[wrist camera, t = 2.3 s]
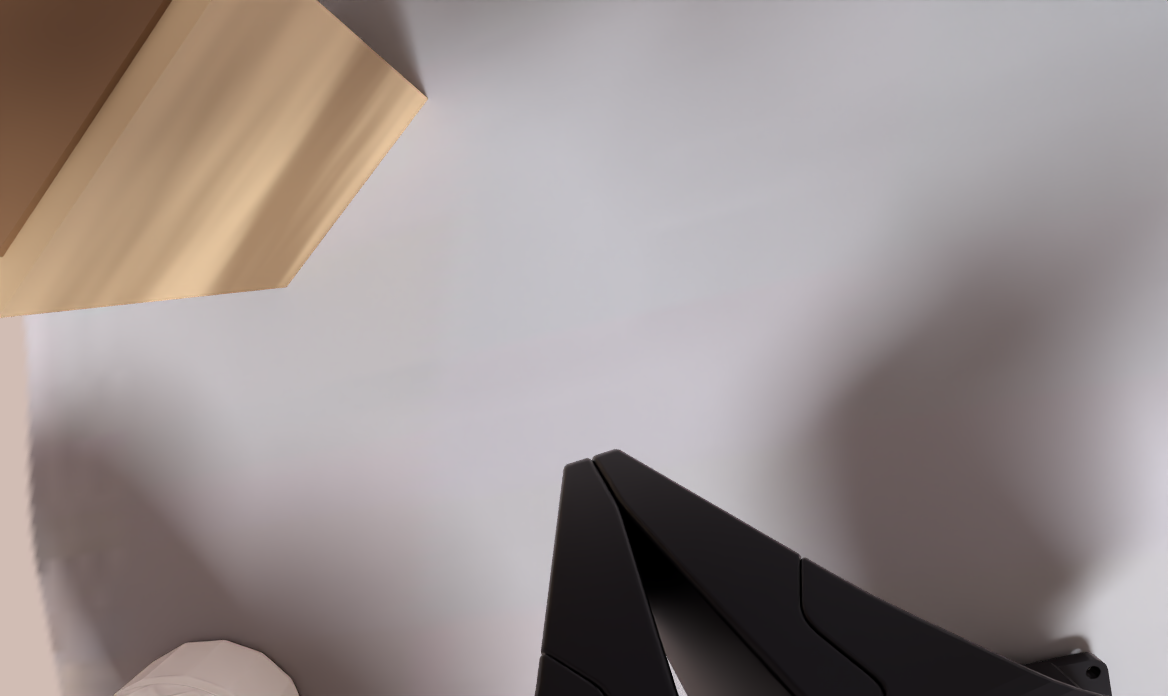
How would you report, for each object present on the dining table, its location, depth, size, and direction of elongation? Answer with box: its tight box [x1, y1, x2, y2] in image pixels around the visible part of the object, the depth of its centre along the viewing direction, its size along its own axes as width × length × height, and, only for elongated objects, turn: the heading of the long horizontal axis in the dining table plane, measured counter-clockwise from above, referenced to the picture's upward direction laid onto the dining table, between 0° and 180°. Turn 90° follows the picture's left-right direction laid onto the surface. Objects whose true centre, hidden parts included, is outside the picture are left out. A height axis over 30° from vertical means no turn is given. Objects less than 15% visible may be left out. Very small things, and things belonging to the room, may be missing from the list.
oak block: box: [0, 0, 428, 318], centre depth 15 cm, size 4×8×10 cm, turn 140°
